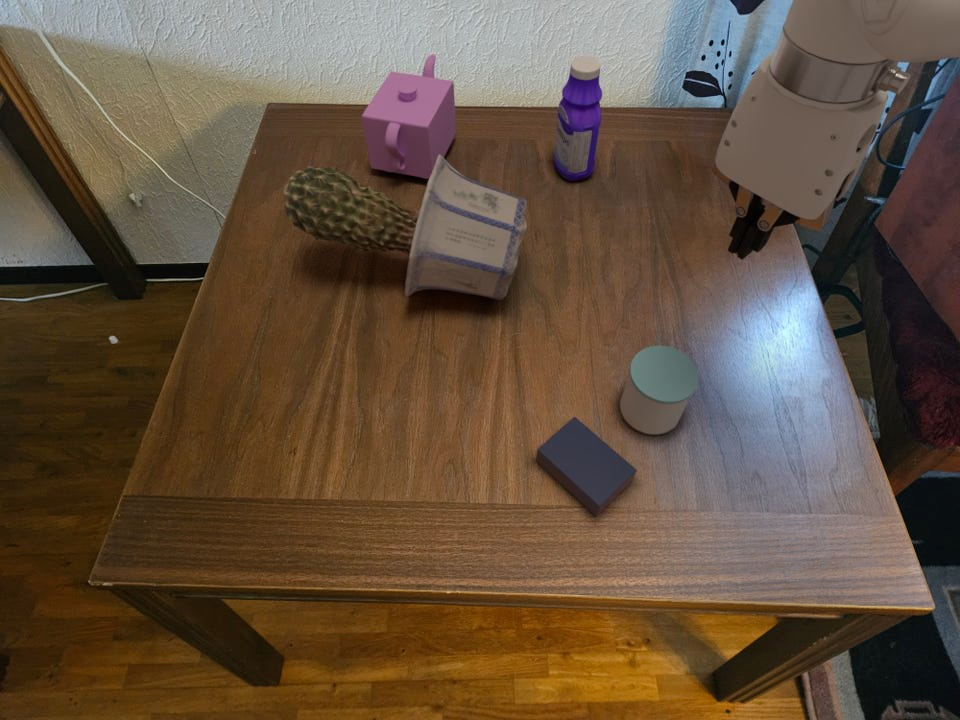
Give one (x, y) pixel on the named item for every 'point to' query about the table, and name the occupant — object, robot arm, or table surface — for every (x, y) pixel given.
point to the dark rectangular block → (585, 466)
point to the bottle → (579, 120)
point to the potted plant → (419, 226)
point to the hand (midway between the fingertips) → (743, 247)
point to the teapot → (410, 122)
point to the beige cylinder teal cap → (658, 390)
